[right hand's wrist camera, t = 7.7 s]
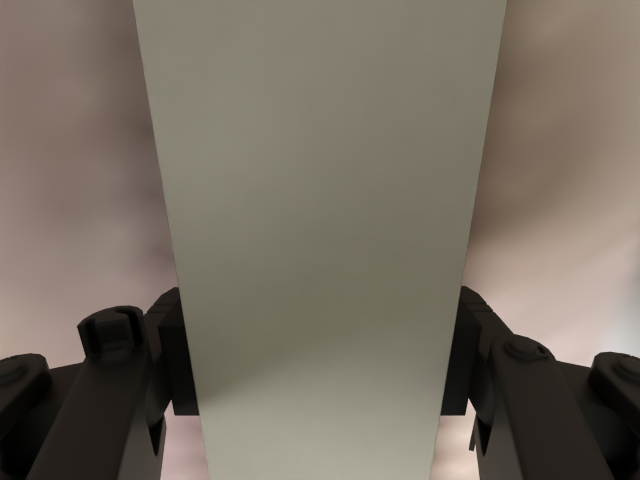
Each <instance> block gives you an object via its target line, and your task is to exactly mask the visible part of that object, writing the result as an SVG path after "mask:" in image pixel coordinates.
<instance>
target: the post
mask: <svg viewBox="0 0 640 480" xmlns="http://www.w3.org/2000/svg"><path fill="white" fill-rule="evenodd" d="M132 2H133V8H134V14H135V21H136V27H137V33H138V39H139V45H140V51H141V58H142V64H143V70H144V76H145V82H146V88H147V94H148V101H149V107H150V113H151V119H152V125H153V131H154V138H155V144H156V150H157V156H158V162H159V168H160V175H161V181H162V187H163V193H164V199H165V205H166V212H167V218H168V224H169V230H170V236H171V242H172V249H173V255H174V261H175V267H176V273H177V279H178V285H179V292H180V298H181V304H182V310H183V316H184V322H185V329H186V335H187V341H188V347H189V353H190V359H191V366H192V372H193V378H194V384H195V390H196V396H197V403H198V409H199V415H200V421H201V427H202V433H203V439H204V446H205V452H206V458H207V464H208V470H209V476H210V480H430V475H431V469H432V462H433V456H434V450H435V444H436V438H437V432H438V425H439V419H440V413H441V407H442V401H443V395H444V388H445V382H446V376H447V370H448V364H449V357H450V351H451V345H452V339H453V333H454V327H455V320H456V314H457V308H458V302H459V296H460V290H461V283H462V277H463V271H464V265H465V259H466V252H467V246H468V240H469V234H470V228H471V222H472V215H473V209H474V203H475V197H476V191H477V185H478V178H479V172H480V166H481V160H482V154H483V147H484V141H485V135H486V129H487V123H488V117H489V110H490V104H491V98H492V92H493V86H494V80H495V73H496V67H497V61H498V55H499V49H500V42H501V36H502V30H503V24H504V18H505V12H506V5H507V0H132Z"/></svg>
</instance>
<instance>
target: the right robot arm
mask: <svg viewBox="0 0 640 480" xmlns="http://www.w3.org/2000/svg"><path fill="white" fill-rule="evenodd" d="M77 328H78V331H79V335H80V338H81V342H82V345H83V349H84V352H85V355H86V358H85V360H84V362H82V363H78V364H73V365H68V366H63V367H58V368H53V369H49V367H48V364H47V361H46V358H45V357H43V356H42V355H40V354H32V353H29V354H22V355H15V356H11V357H10V358H5V359H2V360H0V480H160V477H161V469H162V461H163V452H164V444H165V436H166V421H165V416H164V412H165V410H166V408H167V406H168V405H169V403H170V401H171V399H172V404H173V409H174V414H175V415H199V409H198V403H197V396H196V390H195V384H194V378H193V372H192V366H191V359H190V353H189V347H188V341H187V335H186V329H185V322H184V316H183V310H182V304H181V298H180V292H179V287H174V288H172V289H171V290H169V291H167V292H166V293H164V294H162V295H161V296H160V297H159V298H158V300H157V301H156V302H155V303H154V306H151V308H150V309H149V310H148V311H147V313H145V314H144V316H143V311H142V310H141V309H139V308H138V307H134V306H116V307H111V308H107V309H104V310H101V311H98V312H96V313H93V314H92V315H90V316H88V317H87V318H85V319H83V320H82V321H81V322H80V323H79V324H78V326H77ZM468 398H469V399H470V401H471V403H472V405H473V407H474V409H475V411H476V416H475V421H474V426H473V430H472V435H471V440H470V445H469V450H471V451H474V447H475V444H476V452H477V460H478V468H479V476H480V480H640V358H637V357H634V356H630V355H628V354H623V353H615V352H602V353H599V354H598V355H596V356H595V357H594V360H593V363H592V366H591V368H590V367H585V366H580V365H575V364H570V363H565V362H560V361H557V360H556V359H555V357H554V356H553V354H552V353H551V352H550V351H549V349H547V348H546V347H545V346H543V345H542V344H540V343H539V342H537V341H535V340H532V339H530V338H528V337H524V336H520V335H516V334H513V332H512V331H511V330H510V329H509V328H508V327H507V326H506V325H505V323H504V322H503V321H502V320H501V319H500V318H499V317H498V315H497V314H496V313H495V312H493V310H492V309H491V307H490V306H489V305H487V304H486V302H485V301H484V300H483V298H482V297H481V296H480V295H479V294H478V293H476V292H475V291H473V290H471V289H469V288H468V287H466V286H461V290H460V296H459V302H458V308H457V314H456V320H455V327H454V333H453V339H452V345H451V351H450V357H449V364H448V370H447V376H446V382H445V388H444V395H443V401H442V407H441V413H440V415H465V413H466V408H467V403H468Z"/></svg>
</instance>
